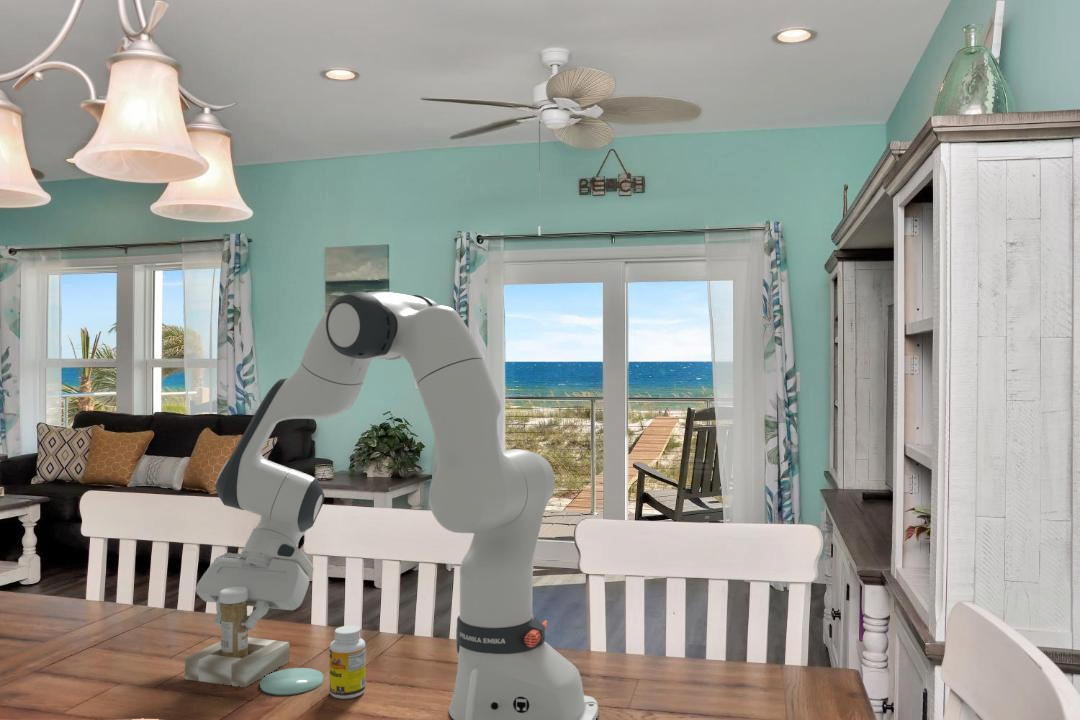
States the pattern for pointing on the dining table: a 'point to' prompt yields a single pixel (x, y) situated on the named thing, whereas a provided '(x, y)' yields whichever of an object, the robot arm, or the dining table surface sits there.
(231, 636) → the sprinkles bottle
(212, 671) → the bore block
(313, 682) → the coaster
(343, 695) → the supplement bottle
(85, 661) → the dining table surface
